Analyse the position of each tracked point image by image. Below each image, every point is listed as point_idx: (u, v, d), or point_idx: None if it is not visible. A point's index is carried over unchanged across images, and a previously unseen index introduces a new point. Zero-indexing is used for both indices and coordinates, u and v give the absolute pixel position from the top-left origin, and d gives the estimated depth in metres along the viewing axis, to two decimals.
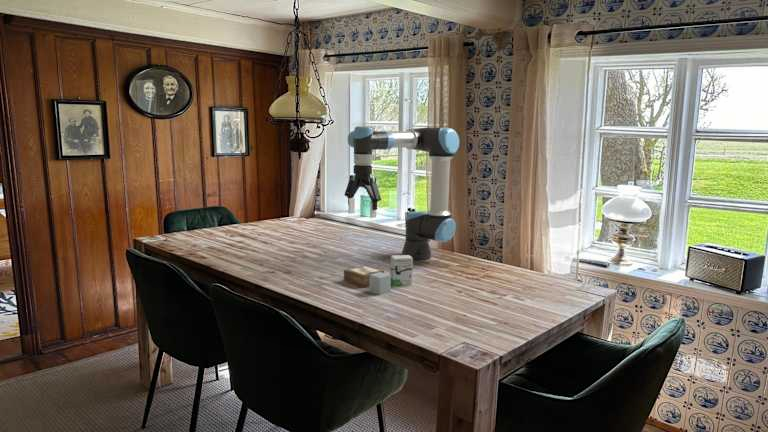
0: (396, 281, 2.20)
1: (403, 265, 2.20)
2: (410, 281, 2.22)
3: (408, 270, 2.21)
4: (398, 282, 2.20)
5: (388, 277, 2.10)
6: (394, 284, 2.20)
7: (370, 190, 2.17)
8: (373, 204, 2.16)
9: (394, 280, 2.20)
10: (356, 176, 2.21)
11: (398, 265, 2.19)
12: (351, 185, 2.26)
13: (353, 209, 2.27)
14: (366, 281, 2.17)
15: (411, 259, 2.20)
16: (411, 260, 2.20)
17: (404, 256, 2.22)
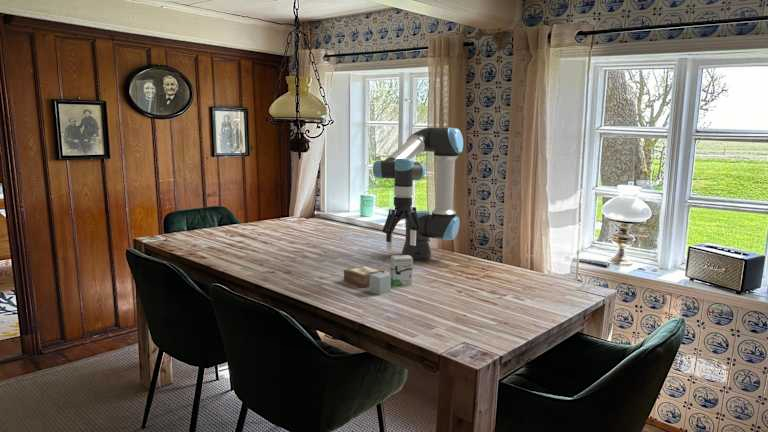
0: (396, 281, 2.20)
1: (403, 265, 2.20)
2: (410, 281, 2.22)
3: (408, 270, 2.21)
4: (398, 282, 2.20)
5: (388, 277, 2.10)
6: (394, 284, 2.20)
7: (392, 222, 2.15)
8: None
9: (394, 280, 2.20)
10: None
11: (398, 265, 2.19)
12: (414, 217, 2.23)
13: (413, 242, 2.24)
14: (366, 281, 2.17)
15: (411, 259, 2.20)
16: (411, 260, 2.20)
17: (404, 256, 2.22)
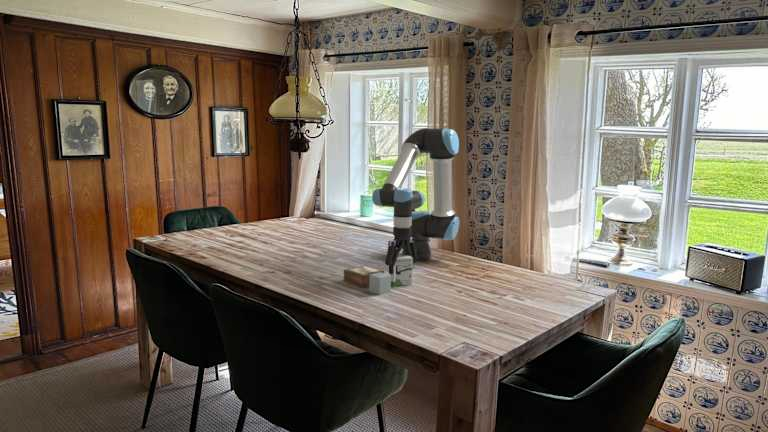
0: (396, 281, 2.20)
1: (403, 265, 2.20)
2: (410, 281, 2.22)
3: (408, 270, 2.20)
4: (398, 282, 2.20)
5: (388, 277, 2.10)
6: (394, 284, 2.20)
7: (393, 253, 2.18)
8: None
9: None
10: None
11: (398, 265, 2.19)
12: (412, 248, 2.25)
13: None
14: (366, 281, 2.17)
15: (411, 259, 2.20)
16: (411, 260, 2.20)
17: (404, 255, 2.22)
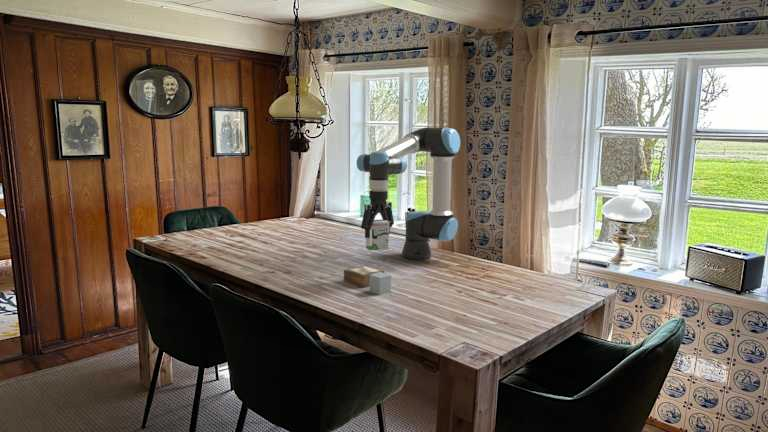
0: (372, 246, 2.18)
1: (379, 229, 2.18)
2: (387, 246, 2.20)
3: (384, 234, 2.19)
4: (375, 246, 2.19)
5: (388, 277, 2.10)
6: (370, 248, 2.18)
7: (369, 217, 2.16)
8: None
9: None
10: None
11: (374, 229, 2.17)
12: (388, 213, 2.23)
13: None
14: (366, 281, 2.17)
15: (387, 223, 2.19)
16: (388, 224, 2.19)
17: (380, 220, 2.21)
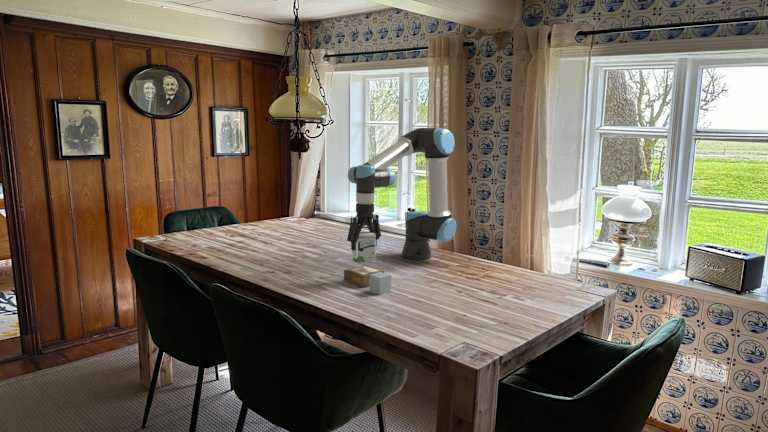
0: (359, 258, 2.20)
1: (366, 242, 2.20)
2: (373, 258, 2.22)
3: (371, 247, 2.21)
4: (361, 259, 2.20)
5: (388, 277, 2.10)
6: (357, 261, 2.20)
7: (356, 230, 2.18)
8: None
9: None
10: None
11: (361, 241, 2.19)
12: (375, 225, 2.25)
13: None
14: (366, 281, 2.17)
15: (374, 236, 2.20)
16: (374, 237, 2.20)
17: (367, 232, 2.22)
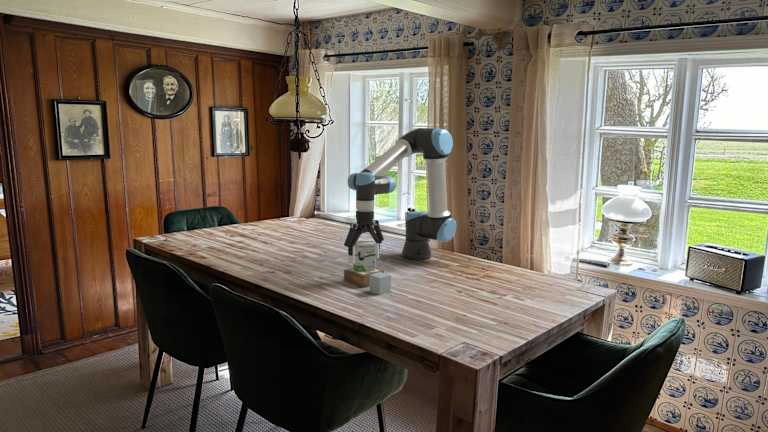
0: (359, 267, 2.21)
1: (366, 251, 2.20)
2: (373, 267, 2.23)
3: (371, 256, 2.21)
4: (362, 268, 2.21)
5: (388, 277, 2.10)
6: (357, 270, 2.21)
7: (354, 235, 2.18)
8: None
9: (357, 266, 2.21)
10: None
11: (361, 251, 2.20)
12: (376, 230, 2.26)
13: (376, 254, 2.27)
14: (366, 281, 2.17)
15: (374, 245, 2.21)
16: (374, 246, 2.21)
17: (367, 242, 2.23)
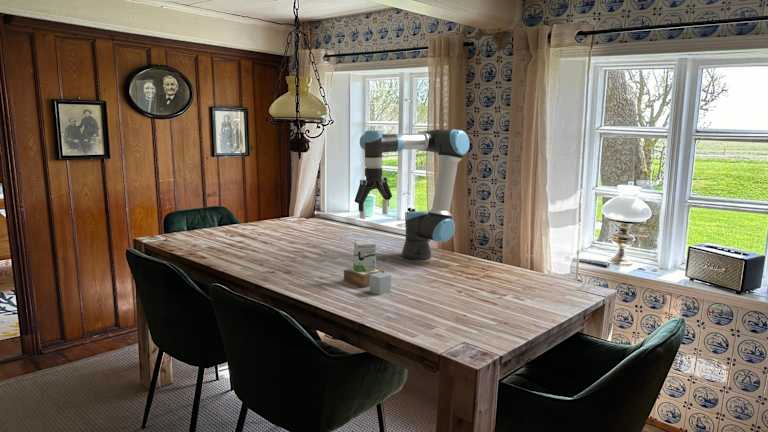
0: (359, 267, 2.21)
1: (366, 251, 2.20)
2: (373, 267, 2.23)
3: (371, 256, 2.21)
4: (362, 268, 2.21)
5: (388, 277, 2.10)
6: (357, 270, 2.21)
7: (364, 192, 2.25)
8: None
9: (357, 266, 2.21)
10: None
11: (361, 251, 2.20)
12: (385, 187, 2.33)
13: (385, 211, 2.34)
14: (366, 281, 2.17)
15: (374, 245, 2.21)
16: (374, 246, 2.21)
17: (367, 242, 2.23)
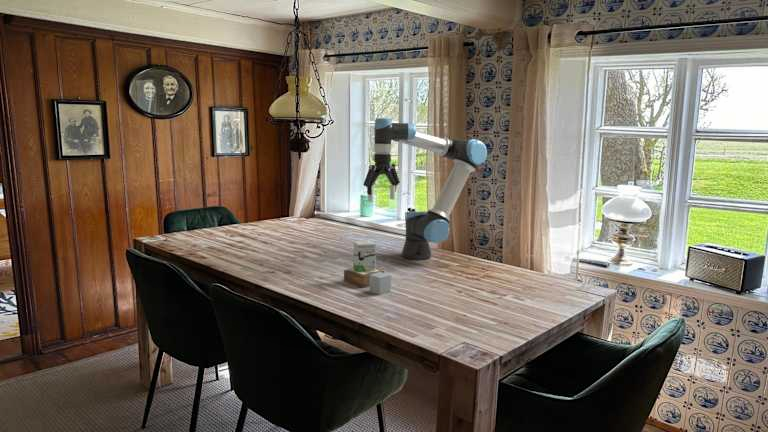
0: (359, 267, 2.21)
1: (366, 251, 2.20)
2: (373, 267, 2.23)
3: (371, 256, 2.21)
4: (362, 268, 2.21)
5: (388, 277, 2.10)
6: (357, 270, 2.21)
7: (373, 176, 2.36)
8: None
9: (357, 266, 2.21)
10: None
11: (361, 251, 2.20)
12: (393, 173, 2.44)
13: (392, 196, 2.45)
14: (366, 281, 2.17)
15: (374, 245, 2.21)
16: (374, 246, 2.21)
17: (367, 242, 2.23)
